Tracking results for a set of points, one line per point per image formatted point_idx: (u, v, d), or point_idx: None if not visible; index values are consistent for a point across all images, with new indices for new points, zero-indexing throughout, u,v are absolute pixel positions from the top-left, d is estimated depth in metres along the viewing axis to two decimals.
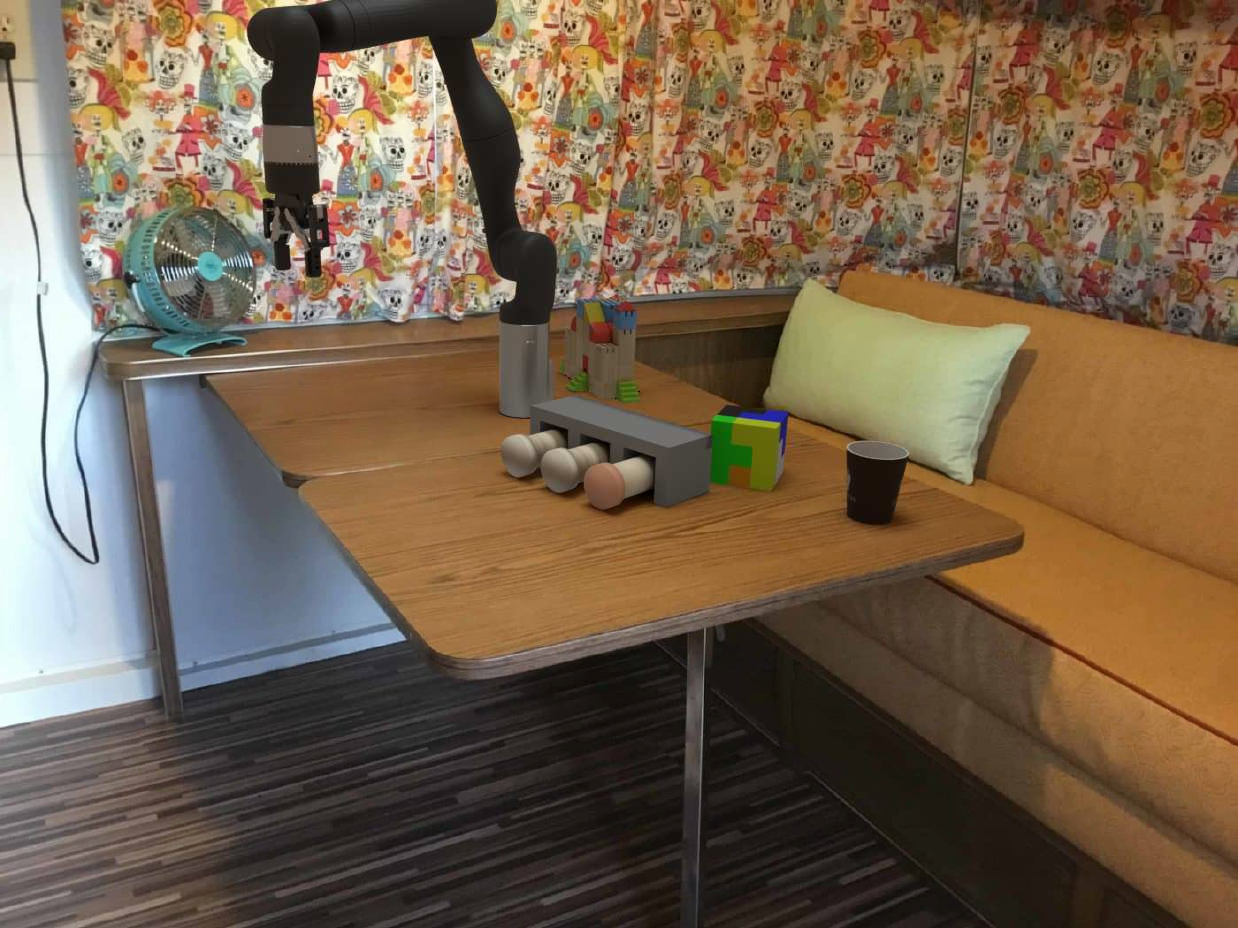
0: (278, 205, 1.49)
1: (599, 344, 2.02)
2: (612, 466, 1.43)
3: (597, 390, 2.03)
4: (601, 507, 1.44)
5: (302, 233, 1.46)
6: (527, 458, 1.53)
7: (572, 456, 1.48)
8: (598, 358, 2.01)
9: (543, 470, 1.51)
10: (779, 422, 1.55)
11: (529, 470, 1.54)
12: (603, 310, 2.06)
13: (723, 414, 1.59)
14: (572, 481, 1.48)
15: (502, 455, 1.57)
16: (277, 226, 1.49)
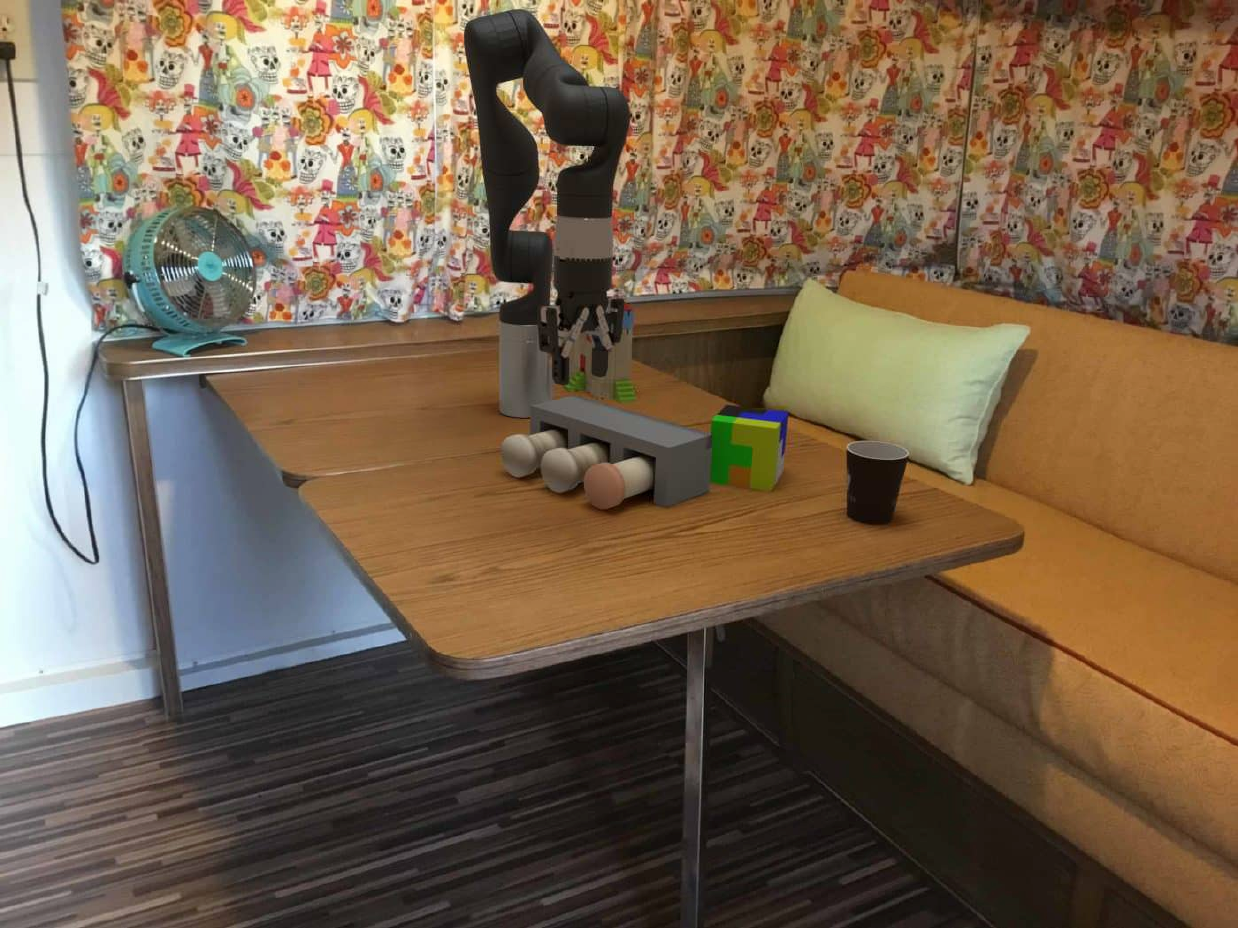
0: (574, 306, 1.30)
1: None
2: (612, 466, 1.43)
3: (594, 389, 2.04)
4: (601, 507, 1.44)
5: None
6: (527, 458, 1.53)
7: (572, 456, 1.48)
8: None
9: (543, 470, 1.51)
10: (779, 422, 1.55)
11: (529, 470, 1.54)
12: None
13: (723, 414, 1.59)
14: (572, 481, 1.48)
15: (502, 455, 1.57)
16: (579, 331, 1.31)
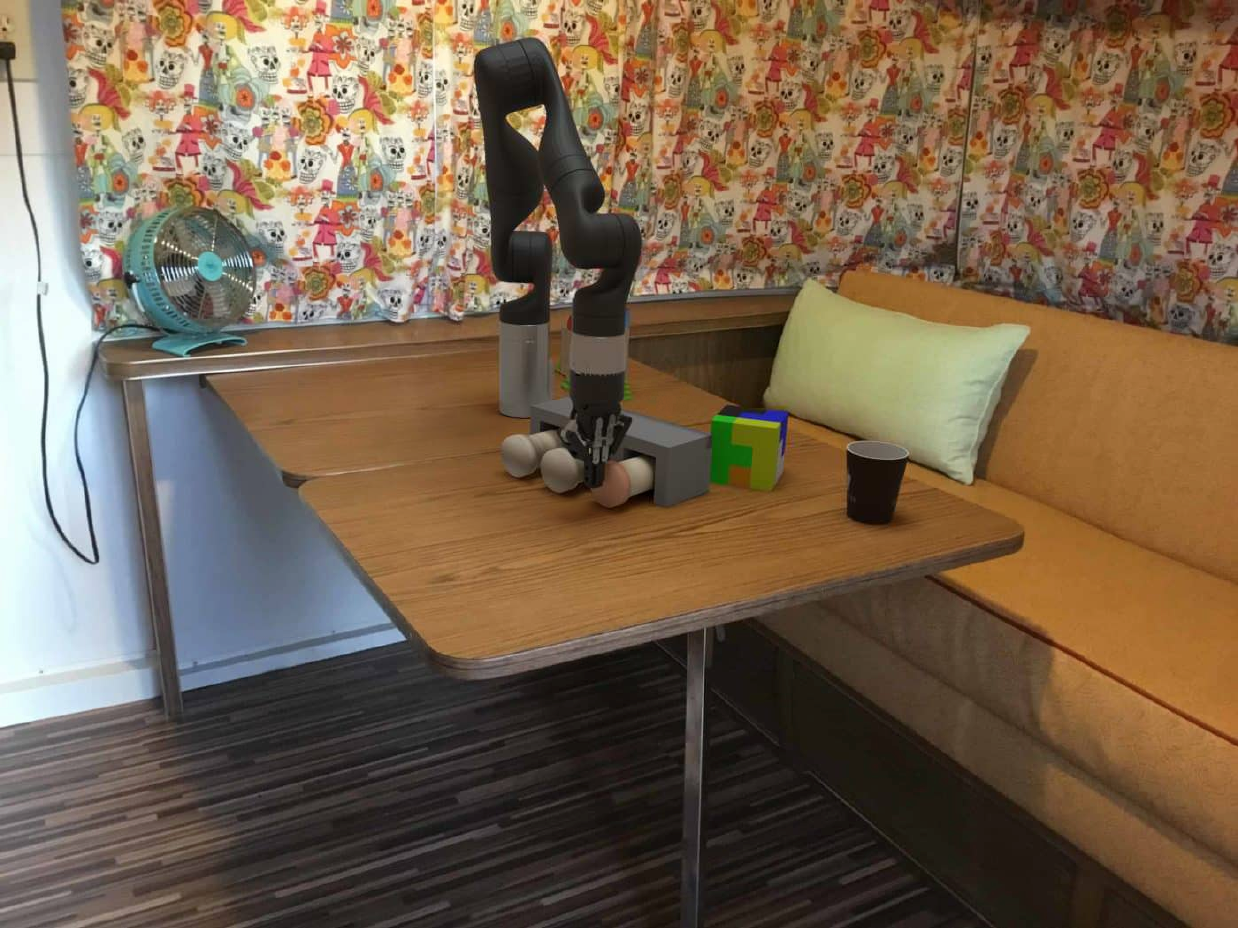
0: (588, 414, 1.37)
1: None
2: (618, 464, 1.44)
3: None
4: (607, 505, 1.45)
5: None
6: (527, 458, 1.53)
7: None
8: None
9: (543, 470, 1.51)
10: (779, 422, 1.55)
11: (529, 470, 1.54)
12: None
13: (723, 414, 1.59)
14: (572, 481, 1.48)
15: (502, 455, 1.57)
16: (600, 437, 1.39)
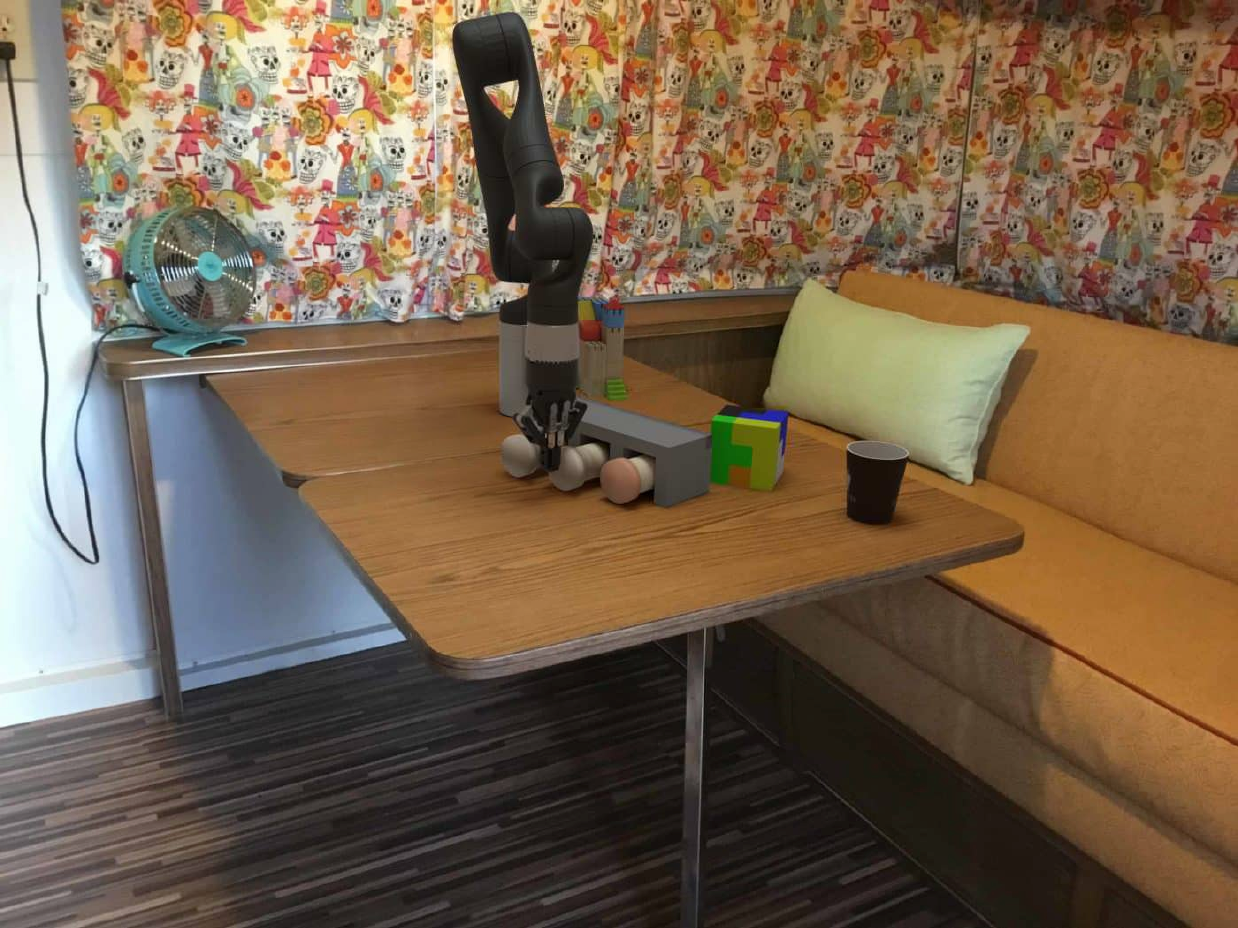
0: (543, 400, 1.43)
1: (588, 342, 2.03)
2: (628, 461, 1.46)
3: (585, 387, 2.05)
4: (617, 501, 1.47)
5: None
6: (527, 458, 1.53)
7: (578, 454, 1.49)
8: (586, 355, 2.03)
9: None
10: (779, 422, 1.55)
11: (529, 470, 1.54)
12: (594, 308, 2.07)
13: (723, 414, 1.59)
14: (578, 479, 1.49)
15: (502, 455, 1.57)
16: (555, 422, 1.45)
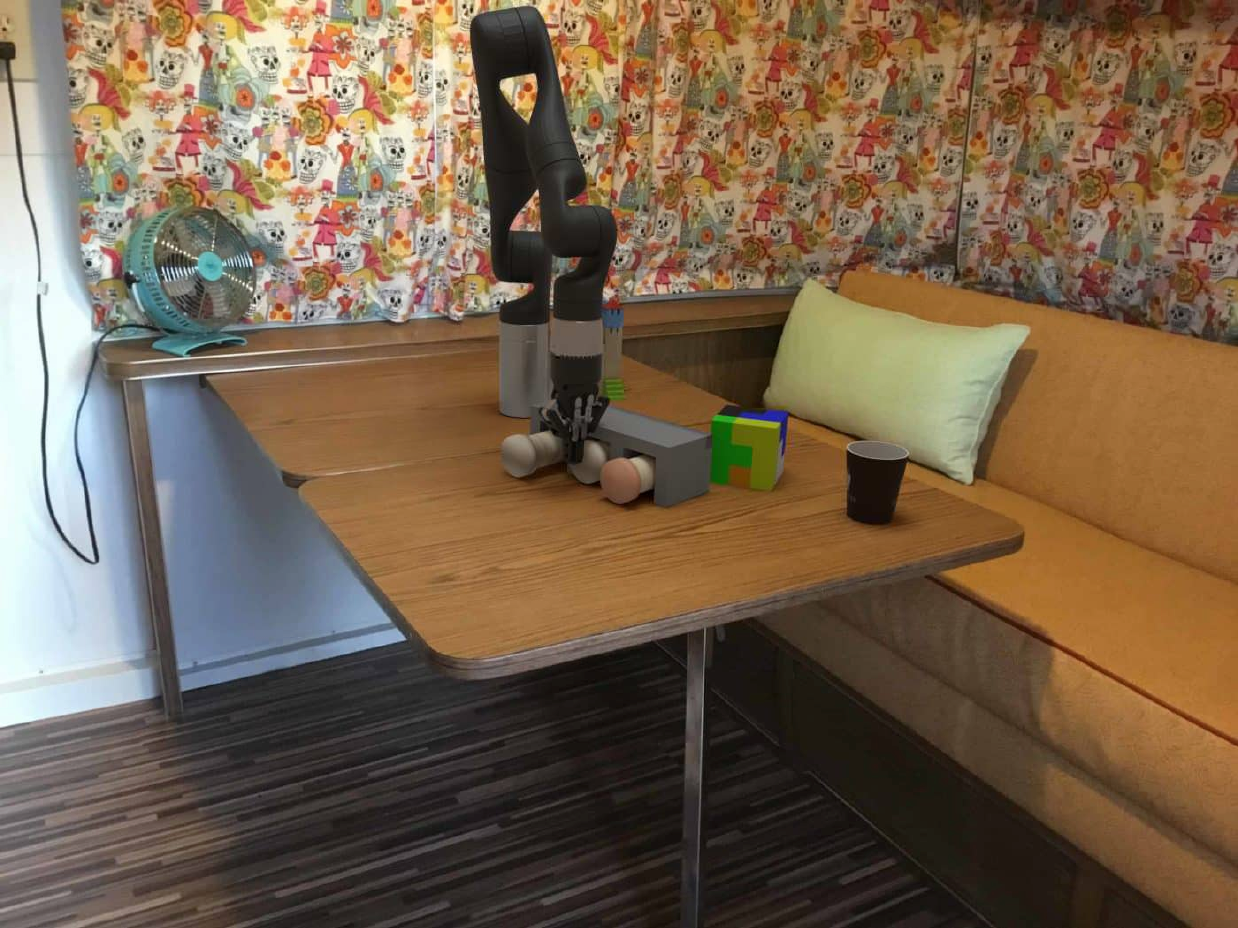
0: (567, 394, 1.46)
1: None
2: (628, 461, 1.46)
3: None
4: (617, 501, 1.47)
5: None
6: (527, 458, 1.53)
7: (601, 448, 1.53)
8: None
9: None
10: (779, 422, 1.55)
11: (529, 470, 1.54)
12: None
13: (723, 414, 1.59)
14: None
15: (502, 455, 1.57)
16: (579, 416, 1.48)
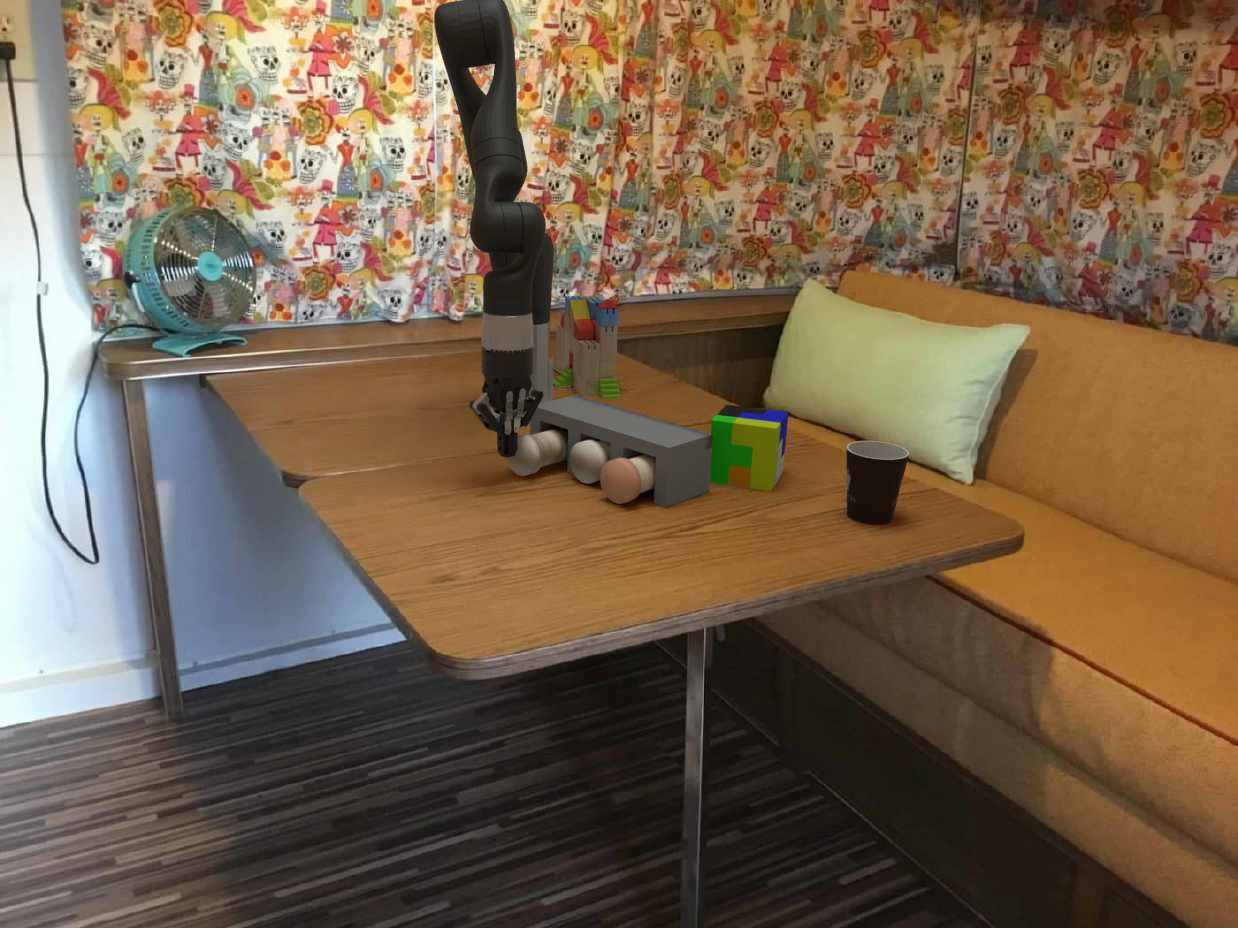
0: (498, 388, 1.48)
1: (582, 341, 2.04)
2: (628, 461, 1.46)
3: (579, 386, 2.06)
4: (617, 501, 1.47)
5: None
6: (531, 457, 1.54)
7: (601, 448, 1.53)
8: (580, 354, 2.04)
9: (571, 462, 1.56)
10: (779, 422, 1.55)
11: (533, 469, 1.55)
12: (589, 307, 2.08)
13: (723, 414, 1.59)
14: None
15: None
16: (511, 409, 1.51)
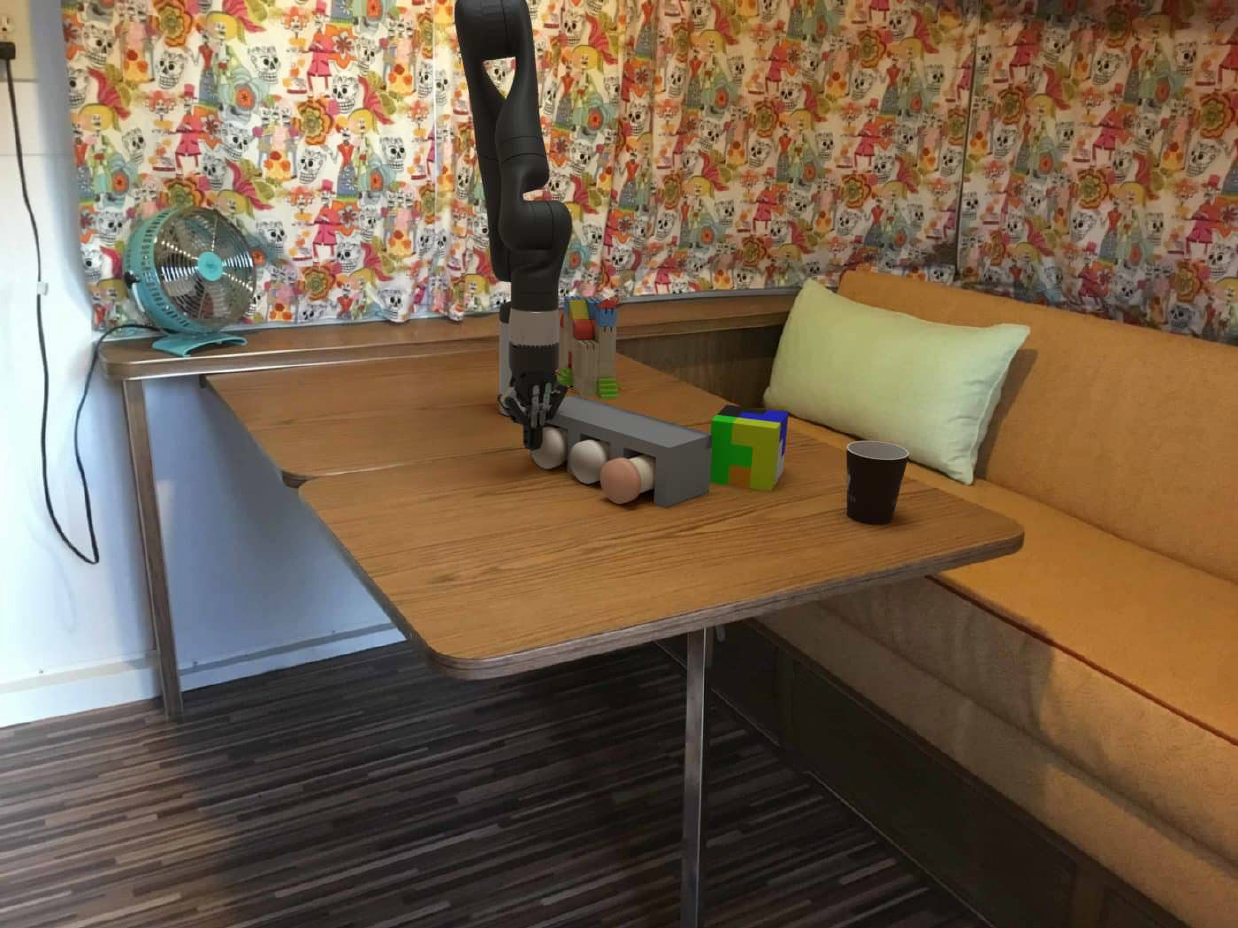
0: (525, 382, 1.52)
1: (581, 341, 2.04)
2: (628, 461, 1.46)
3: (578, 386, 2.06)
4: (617, 501, 1.47)
5: None
6: (556, 450, 1.58)
7: (601, 448, 1.53)
8: (579, 354, 2.04)
9: (571, 462, 1.56)
10: (779, 422, 1.55)
11: (558, 462, 1.59)
12: (588, 307, 2.08)
13: (723, 414, 1.59)
14: None
15: None
16: (537, 403, 1.54)
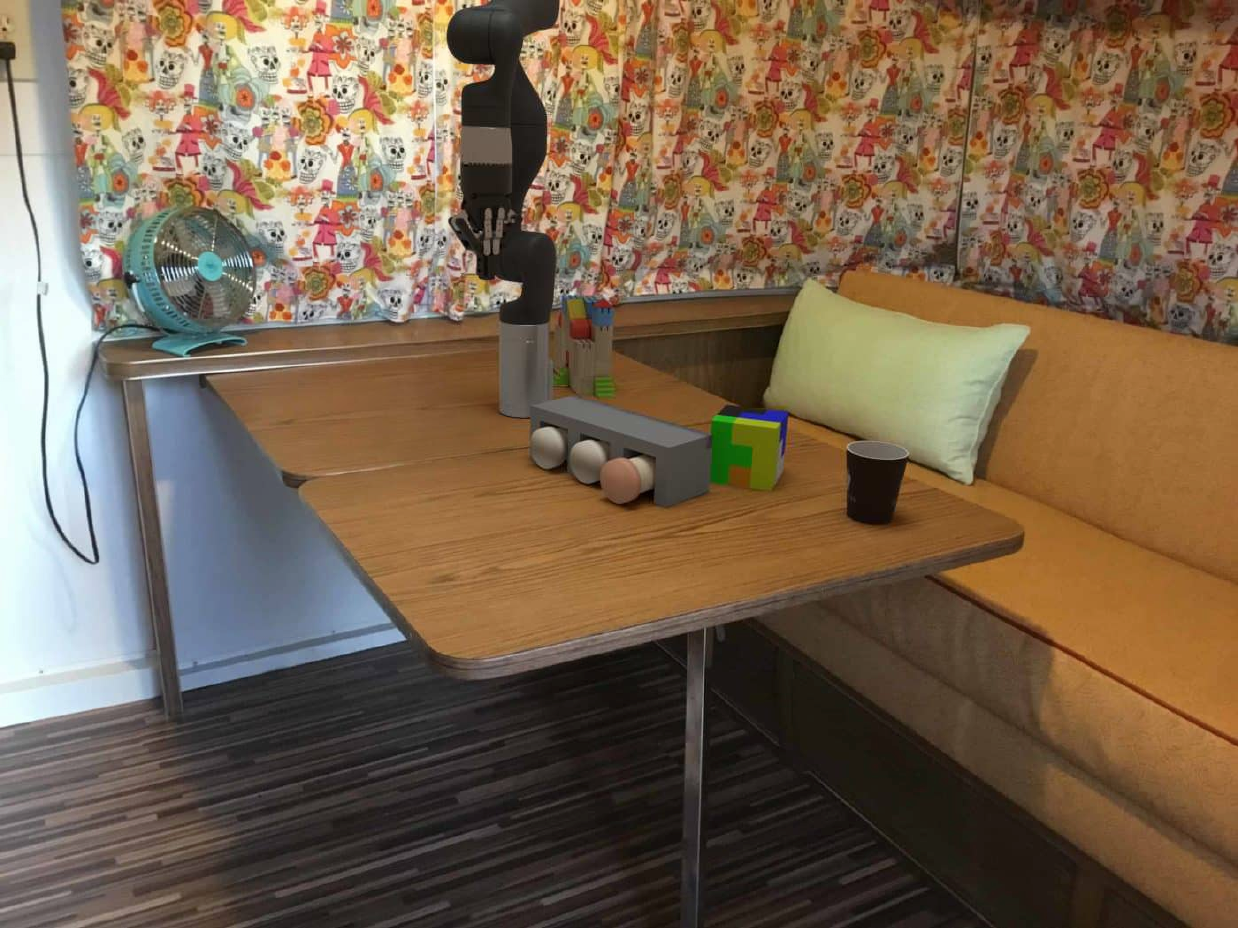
0: (477, 204, 1.48)
1: (577, 340, 2.05)
2: (628, 461, 1.46)
3: (574, 385, 2.06)
4: (617, 501, 1.47)
5: (500, 237, 1.53)
6: (556, 450, 1.58)
7: (601, 448, 1.53)
8: (575, 353, 2.04)
9: (571, 462, 1.56)
10: (779, 422, 1.55)
11: (558, 462, 1.59)
12: (585, 306, 2.09)
13: (723, 414, 1.59)
14: None
15: (531, 447, 1.61)
16: (490, 228, 1.51)
